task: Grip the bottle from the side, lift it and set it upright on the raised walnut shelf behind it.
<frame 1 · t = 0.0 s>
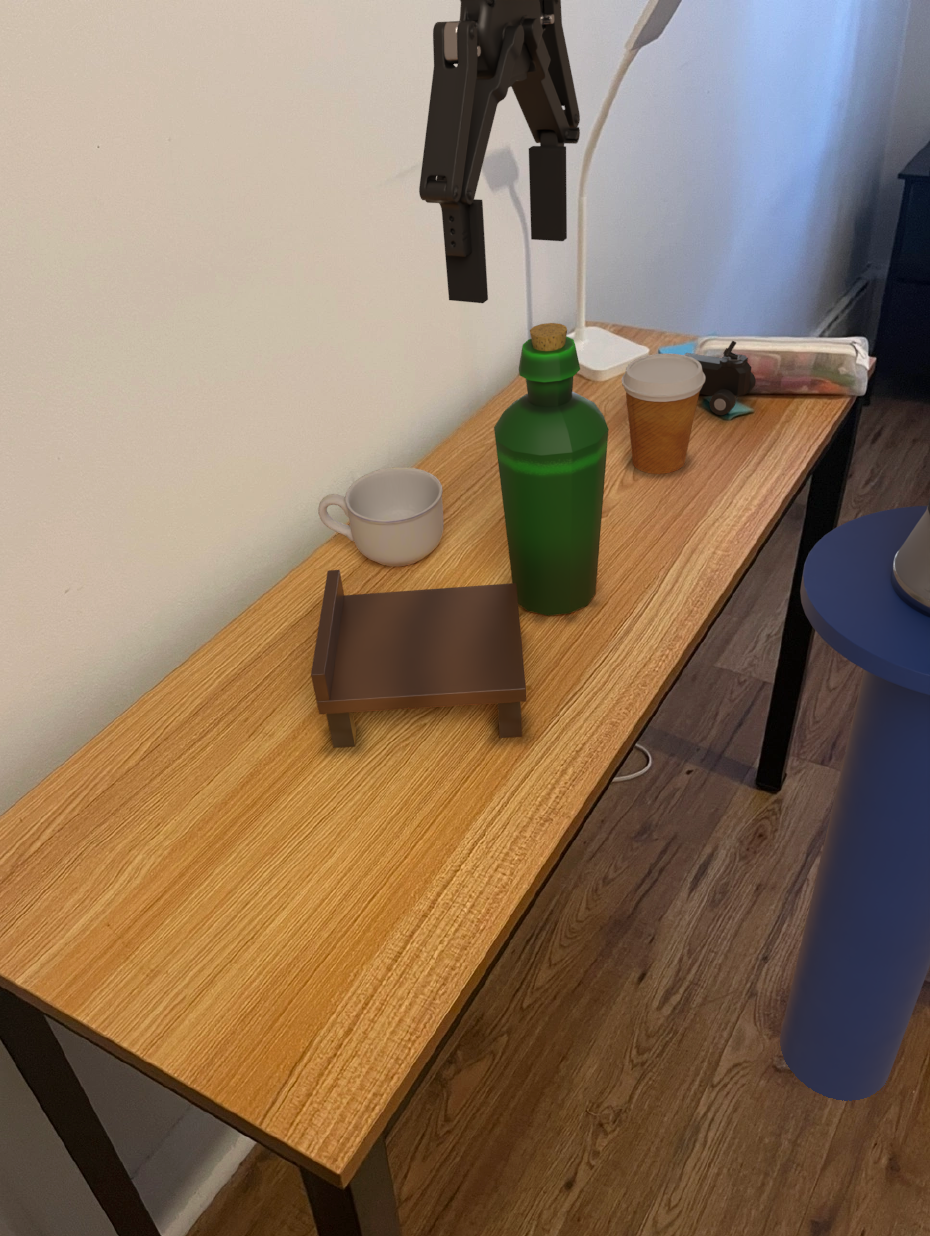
hand: (510, 268, 76), 37 cm above the table, tool pointing down, fingers open, 13 cm apart
toy vehicle: (690, 400, 138), on the table
disposable coffee cup: (658, 463, 126), on the table
teacup: (387, 553, 117), on the table
bottle: (553, 596, 107), on the table
shelf: (428, 689, 97), on the table
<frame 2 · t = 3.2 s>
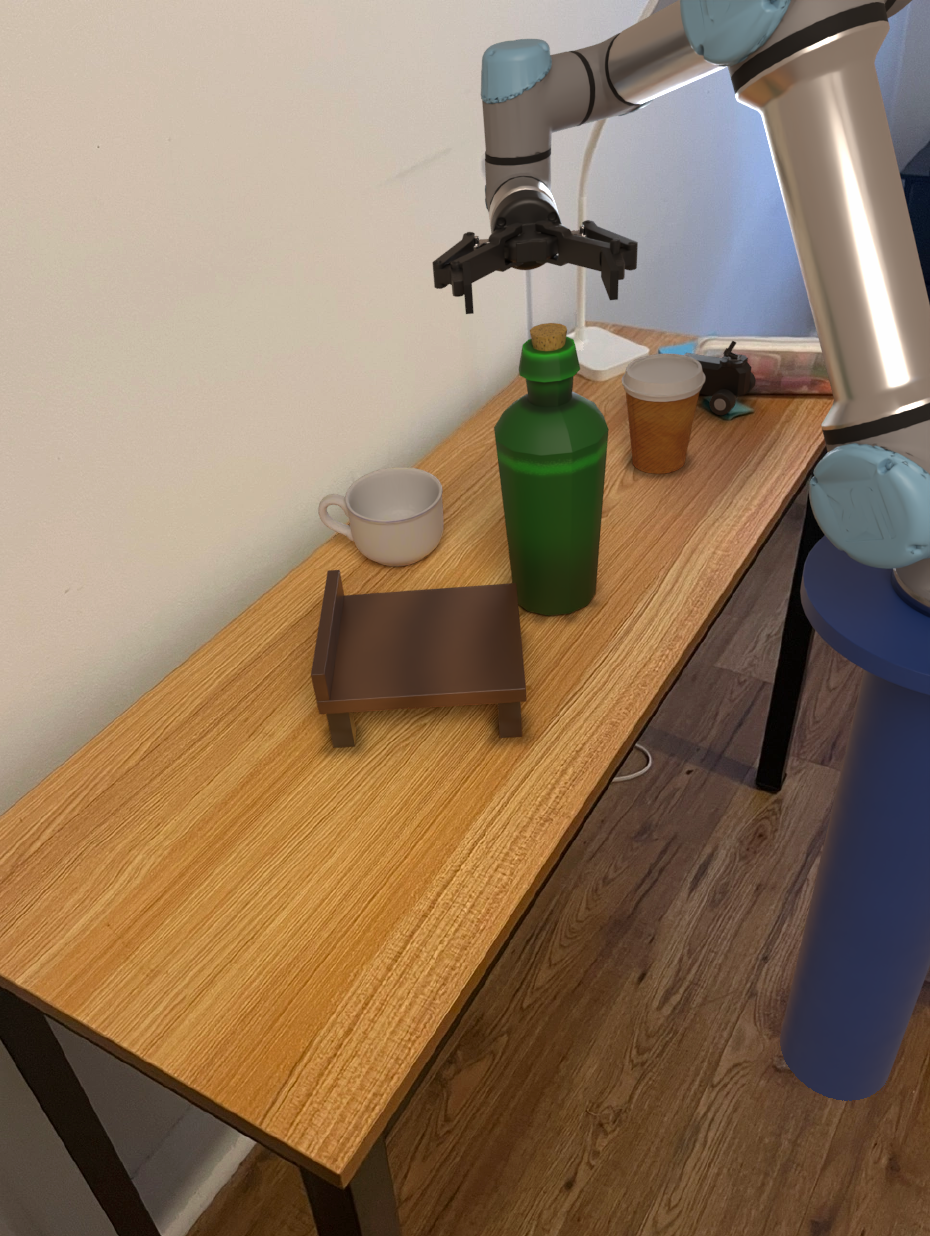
hand: (541, 292, 96), 28 cm above the table, tool horizontal, fingers open, 13 cm apart
nothing on the table moved.
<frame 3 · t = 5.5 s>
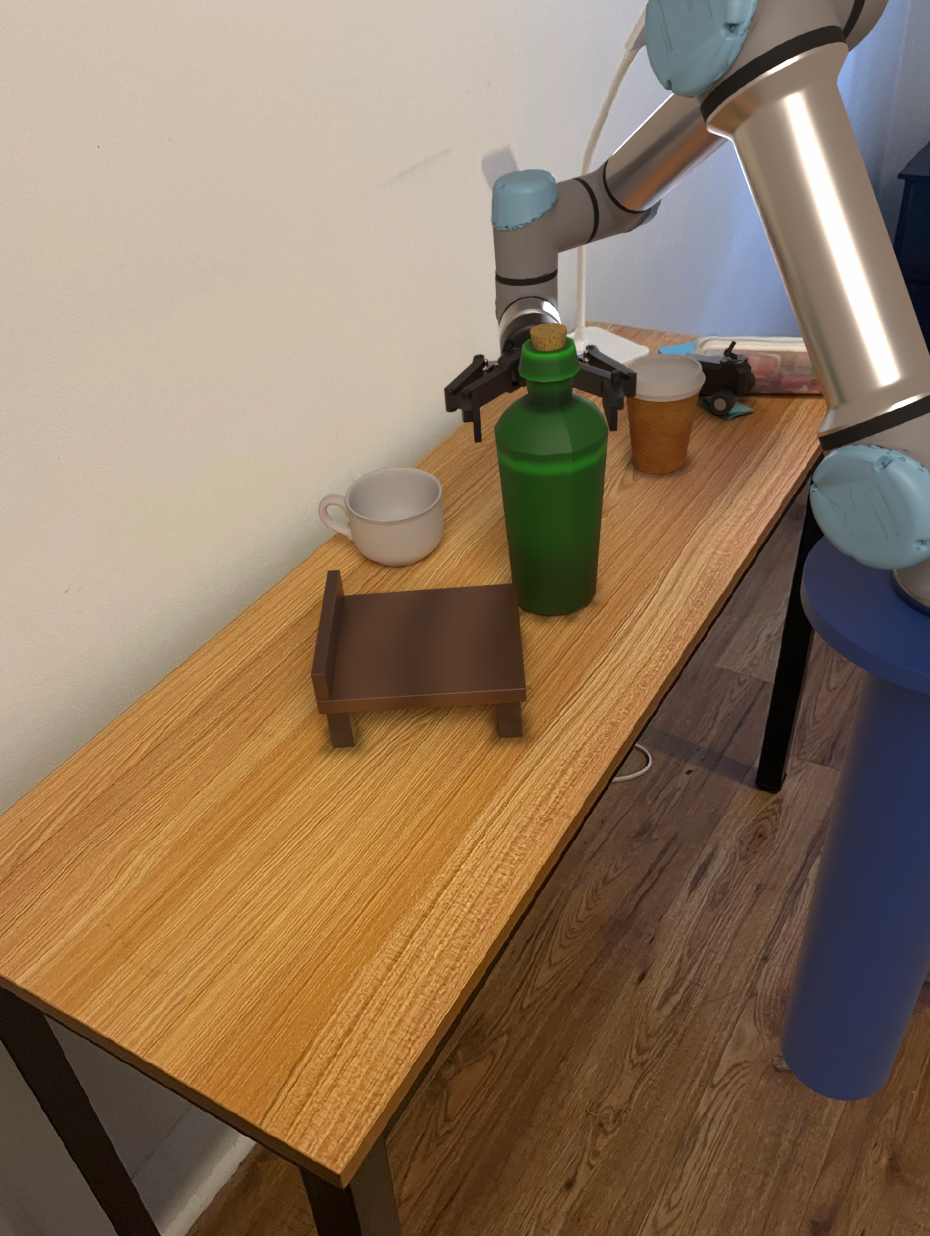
hand: (545, 424, 102), 16 cm above the table, tool horizontal, fingers open, 13 cm apart
nothing on the table moved.
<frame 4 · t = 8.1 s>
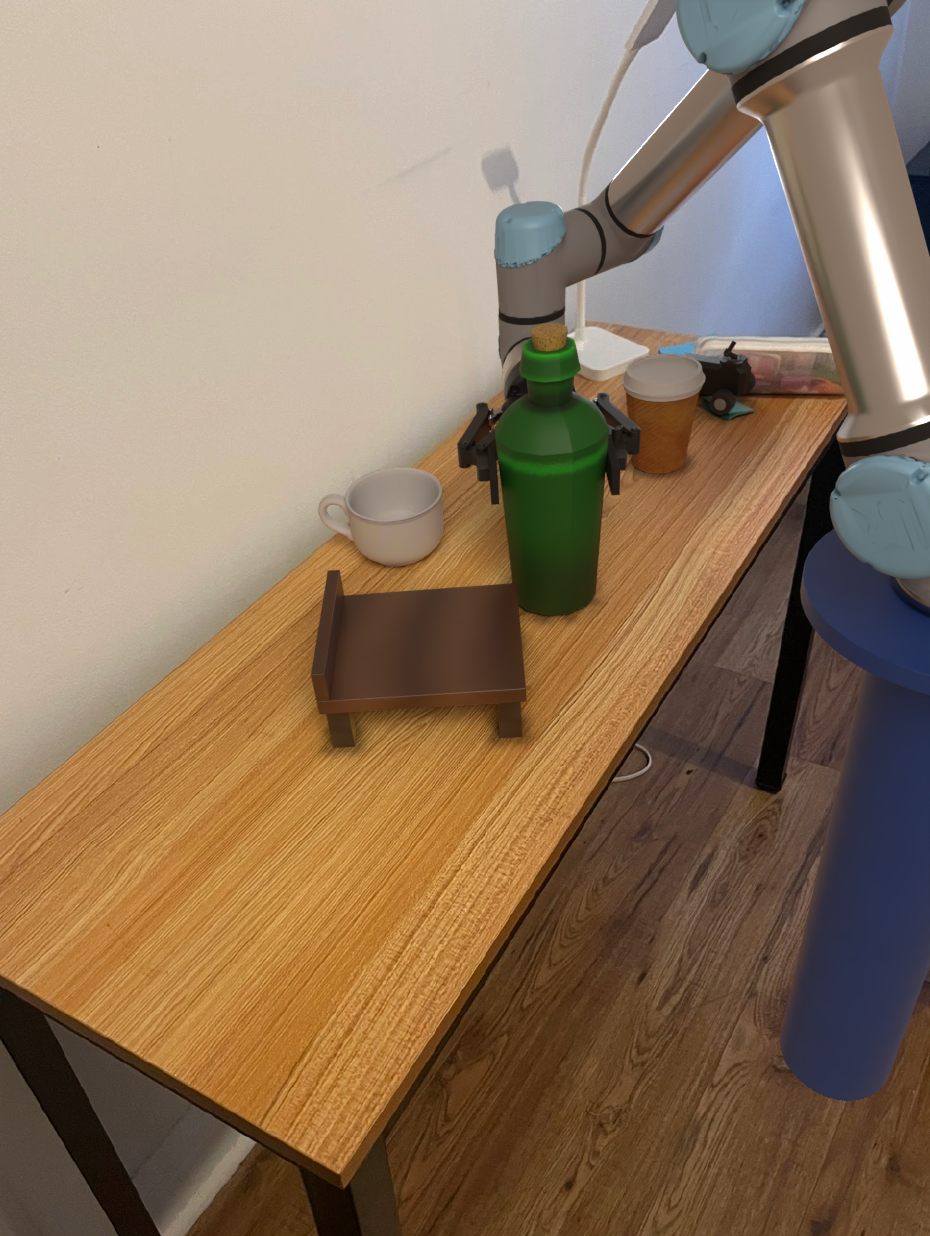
hand: (554, 486, 94), 15 cm above the table, tool horizontal, fingers closed on bottle, 10 cm apart
bottle: (553, 596, 107), on the table, touching gripper
everything else where it was.
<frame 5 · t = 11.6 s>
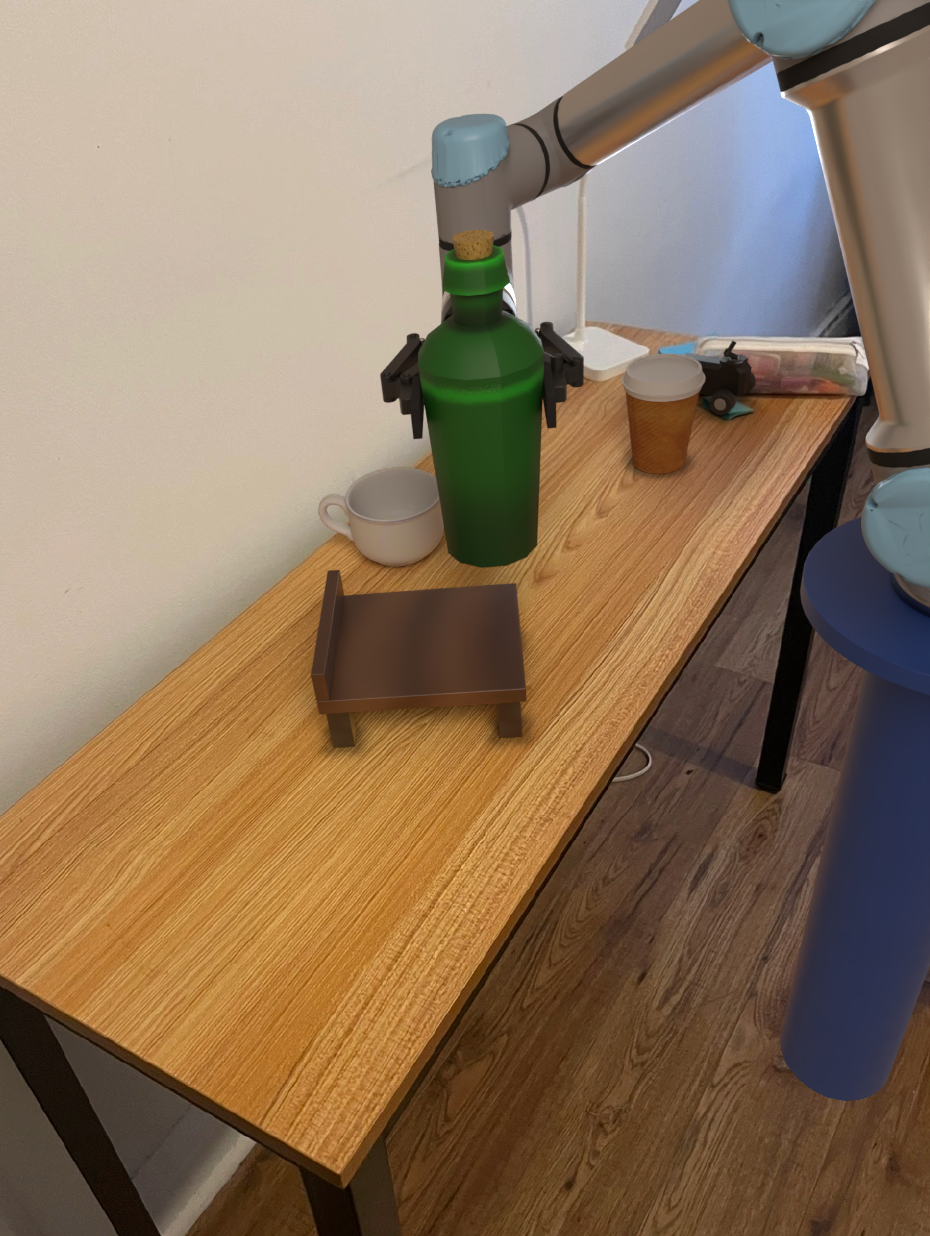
hand: (483, 418, 83), 25 cm above the table, tool horizontal, fingers closed on bottle, 10 cm apart
bottle: (492, 548, 96), point 10 cm above the table, touching gripper
everything else where it was.
when the fingers open (21 cm above the table, at t = 15.0 s): bottle stays where it is, resting on shelf.
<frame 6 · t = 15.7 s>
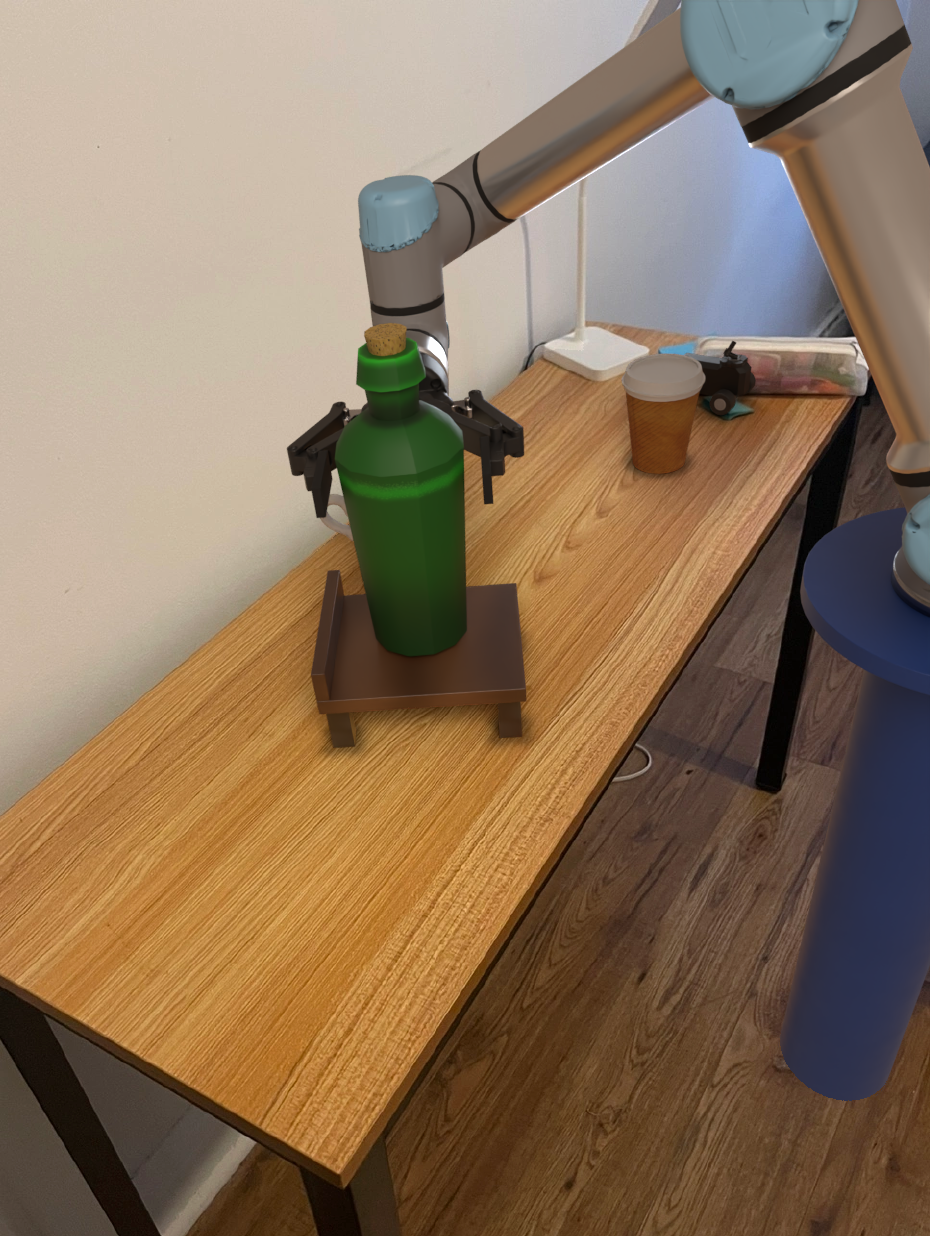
hand: (402, 496, 81), 22 cm above the table, tool horizontal, fingers open, 13 cm apart
bottle: (421, 633, 94), point 6 cm above the table, touching shelf
everything else where it was.
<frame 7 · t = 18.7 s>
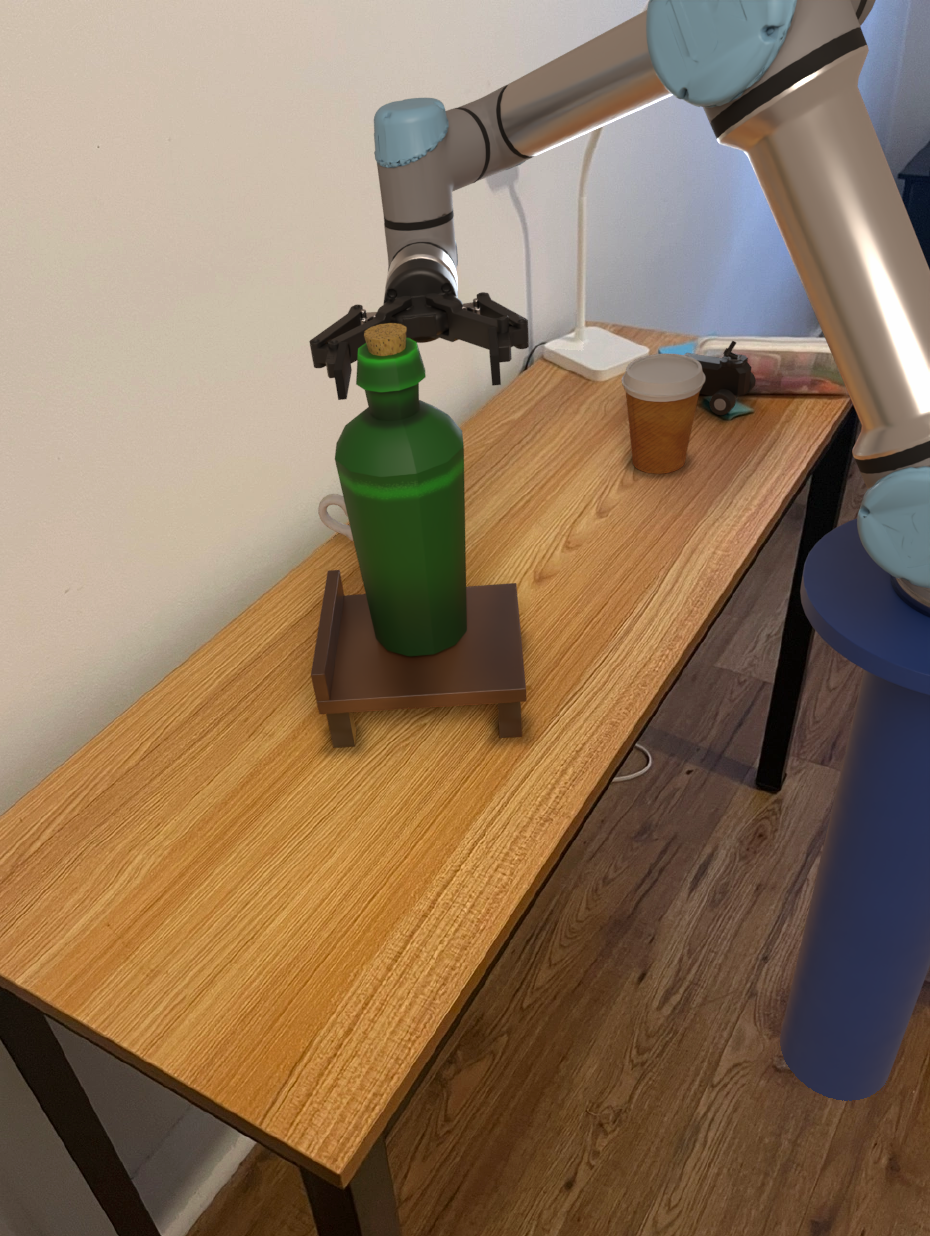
hand: (417, 377, 89), 26 cm above the table, tool horizontal, fingers open, 13 cm apart
nothing on the table moved.
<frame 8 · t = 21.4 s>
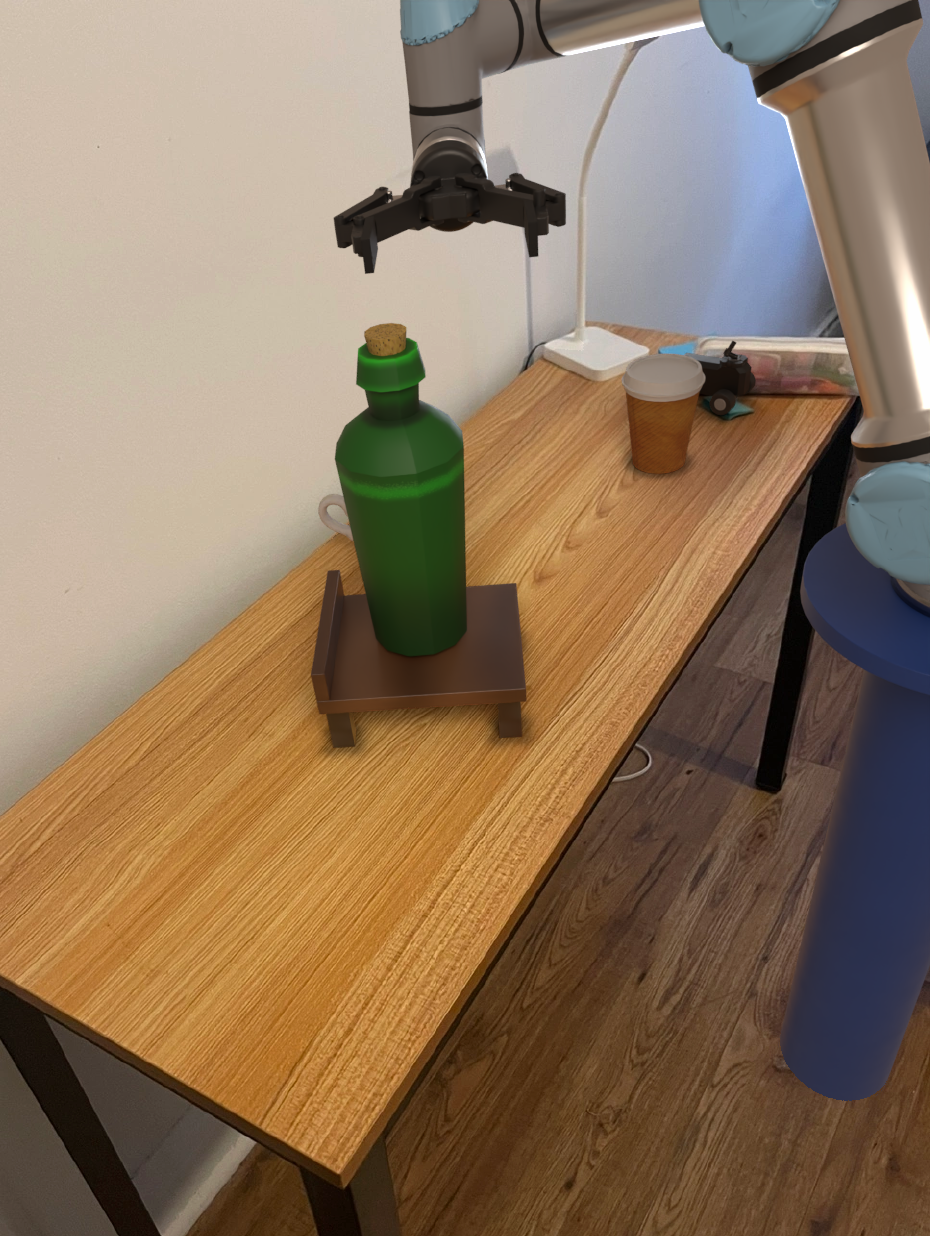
hand: (449, 248, 83), 36 cm above the table, tool horizontal, fingers open, 13 cm apart
nothing on the table moved.
at the end: bottle inside the target area on the shelf (1.0 cm from its centre), point 5.8 cm above the shelf's base; bottle tilted 0°; the gripper is holding nothing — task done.
